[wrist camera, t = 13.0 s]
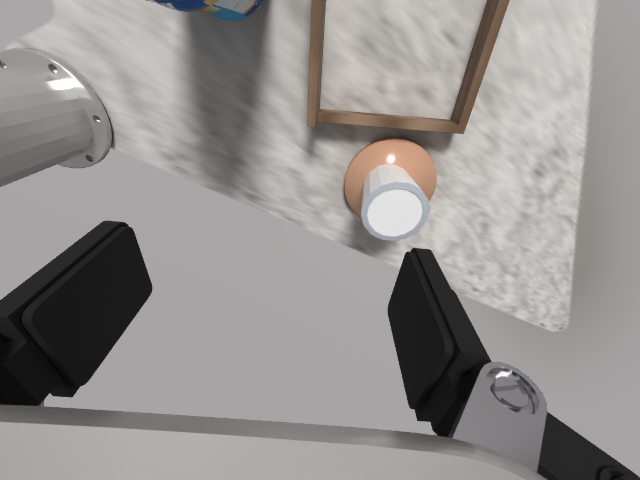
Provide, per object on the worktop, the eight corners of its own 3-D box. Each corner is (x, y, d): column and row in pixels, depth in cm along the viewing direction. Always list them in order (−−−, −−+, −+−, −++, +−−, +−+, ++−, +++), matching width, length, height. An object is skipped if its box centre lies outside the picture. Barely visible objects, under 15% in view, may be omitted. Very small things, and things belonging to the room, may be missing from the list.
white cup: (359, 212, 37) (361, 243, 31) (357, 161, 33) (359, 184, 27) (413, 209, 36) (426, 240, 30) (417, 156, 32) (433, 179, 26)
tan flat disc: (340, 216, 38) (340, 220, 37) (350, 133, 32) (350, 135, 31) (420, 224, 38) (422, 228, 37) (446, 141, 32) (449, 144, 31)
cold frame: (311, 116, 31) (307, 126, 27) (321, -100, 22) (316, -134, 18) (455, 128, 31) (472, 140, 27) (524, -86, 22) (566, -117, 18)
